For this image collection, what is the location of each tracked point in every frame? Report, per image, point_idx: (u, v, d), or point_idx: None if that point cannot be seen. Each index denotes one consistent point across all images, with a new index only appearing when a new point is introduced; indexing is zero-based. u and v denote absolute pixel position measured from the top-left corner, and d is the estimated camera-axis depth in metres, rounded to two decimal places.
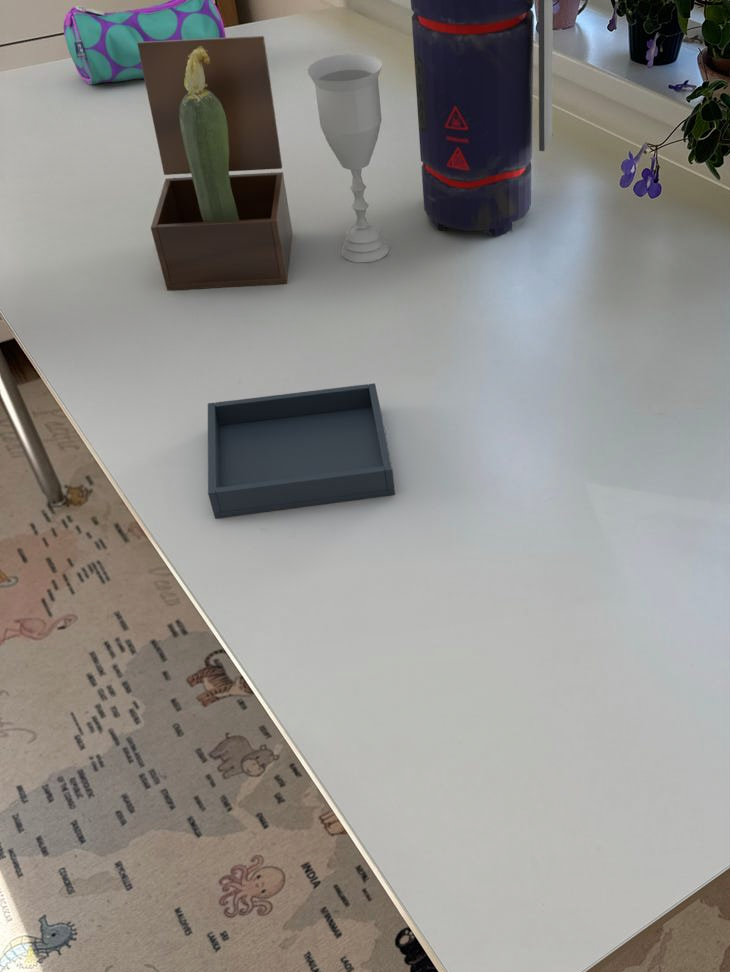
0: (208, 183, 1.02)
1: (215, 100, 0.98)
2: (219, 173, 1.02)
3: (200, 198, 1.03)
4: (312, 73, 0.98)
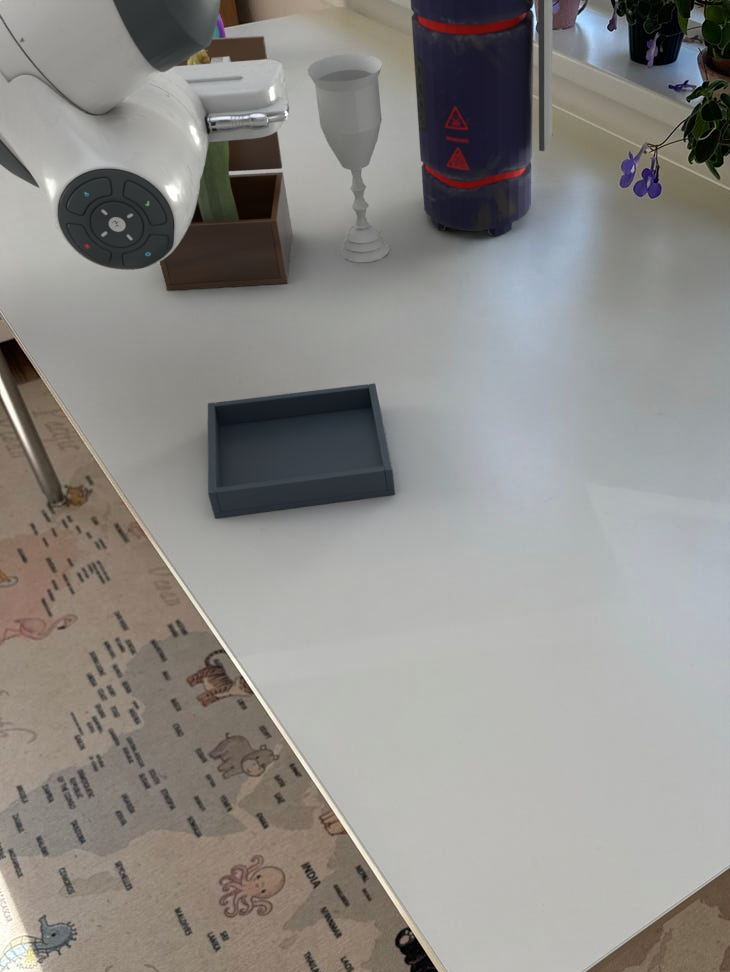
0: (208, 183, 1.02)
1: None
2: (219, 173, 1.02)
3: (200, 198, 1.03)
4: (312, 73, 0.98)
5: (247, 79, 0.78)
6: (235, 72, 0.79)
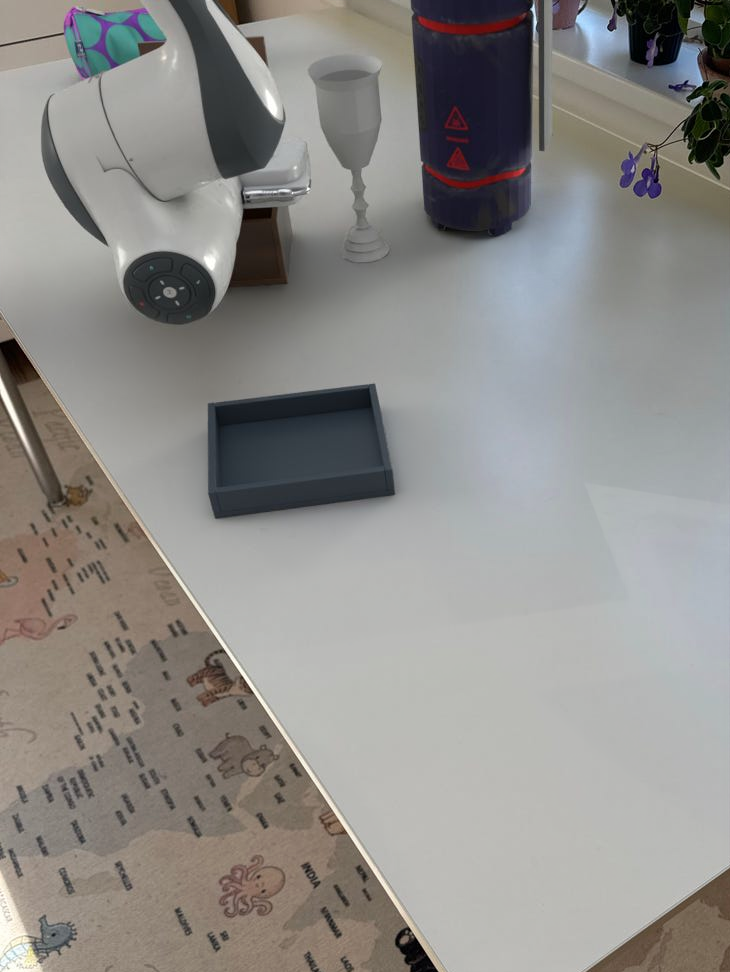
0: None
1: None
2: None
3: None
4: (312, 73, 0.98)
5: (277, 158, 0.94)
6: None
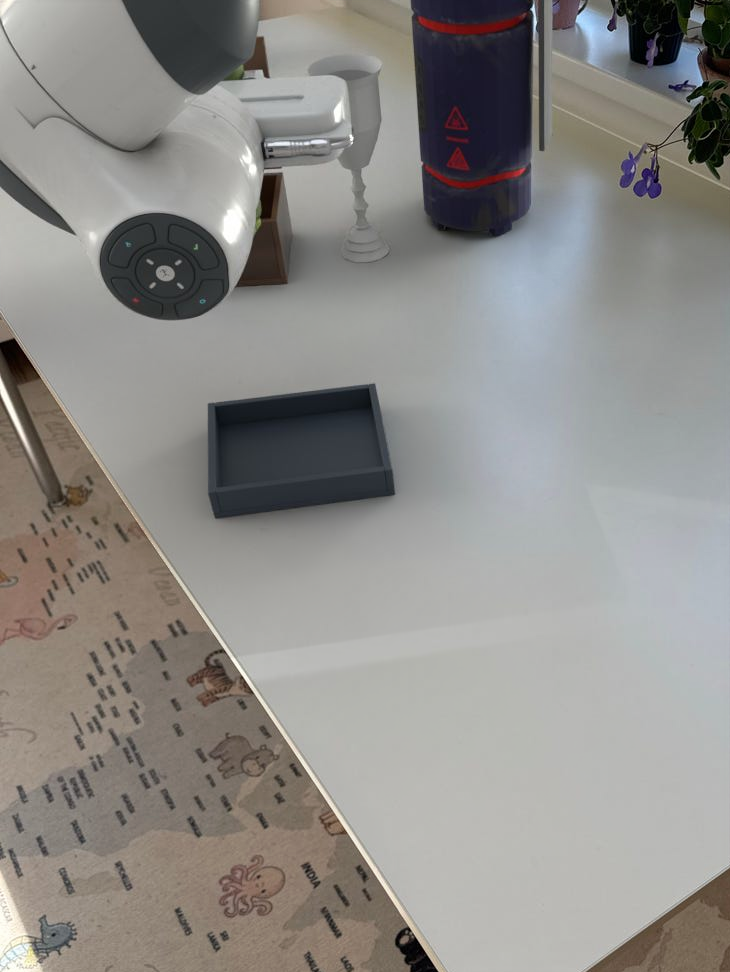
0: None
1: None
2: None
3: None
4: (312, 73, 0.98)
5: (308, 100, 0.71)
6: (295, 90, 0.72)
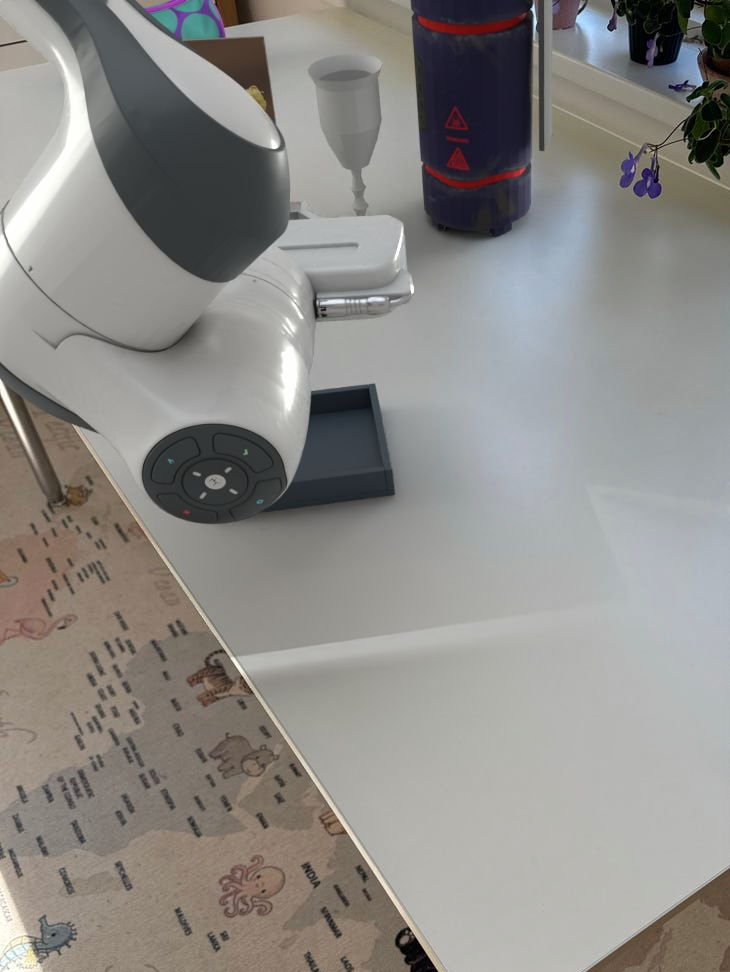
0: None
1: None
2: None
3: None
4: (312, 73, 0.98)
5: (364, 249, 0.64)
6: (348, 235, 0.65)
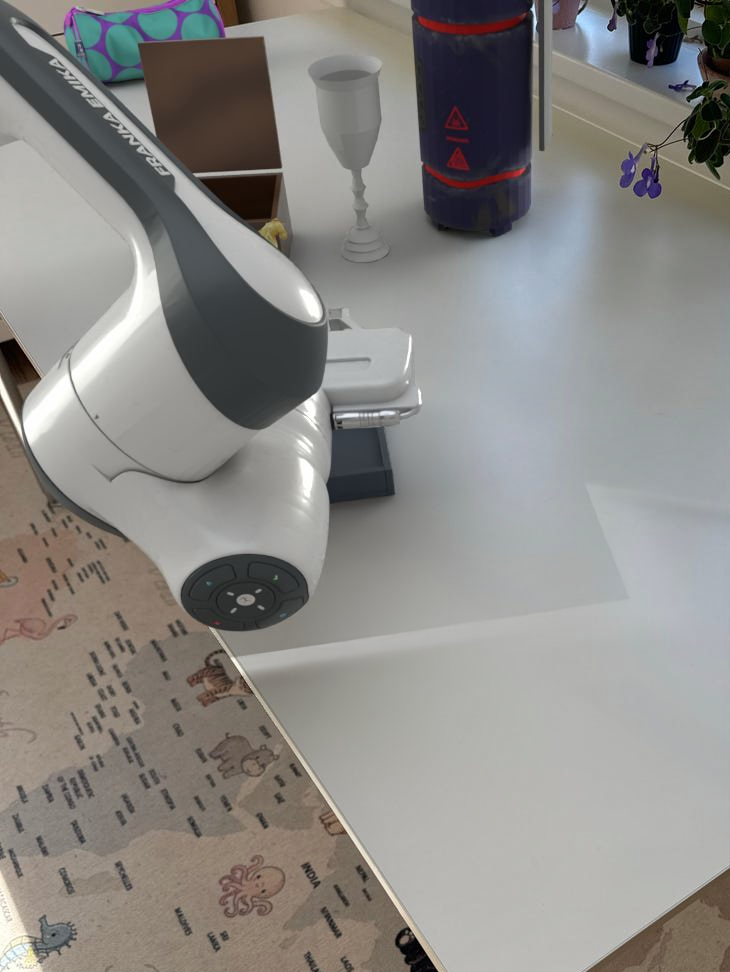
0: None
1: None
2: None
3: None
4: (312, 73, 0.98)
5: (376, 365, 0.70)
6: (361, 349, 0.71)
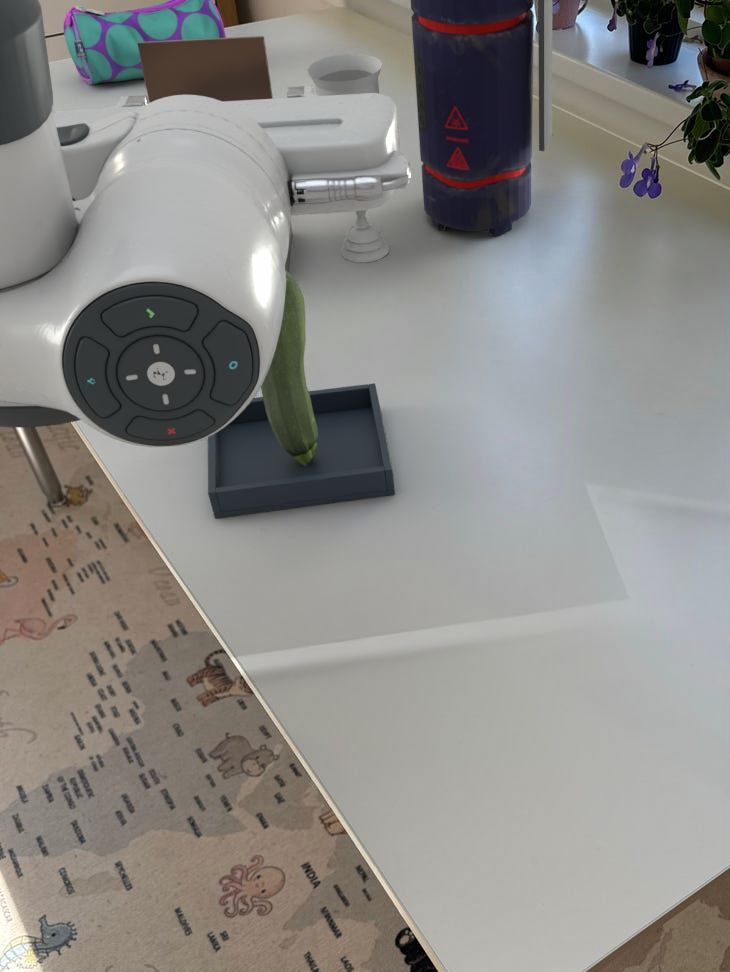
0: (278, 380, 0.78)
1: (292, 282, 0.74)
2: (293, 367, 0.78)
3: (267, 396, 0.80)
4: (312, 73, 0.98)
5: (350, 125, 0.52)
6: (330, 111, 0.54)
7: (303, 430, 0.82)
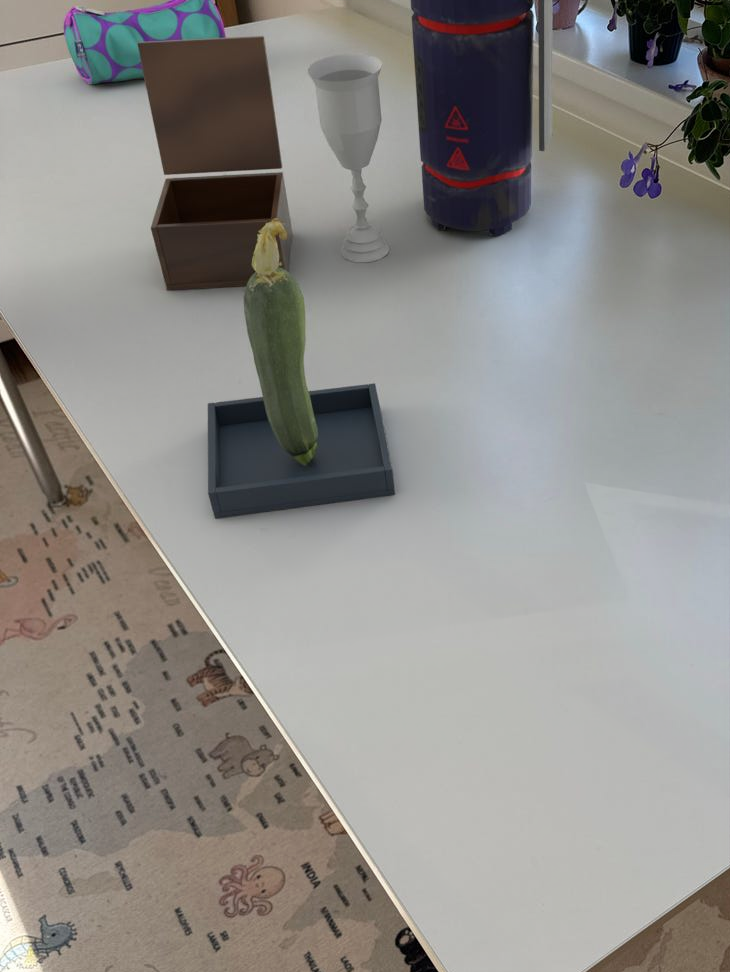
0: (278, 380, 0.78)
1: (292, 282, 0.74)
2: (293, 367, 0.78)
3: (267, 396, 0.80)
4: (312, 73, 0.98)
5: None
6: None
7: (303, 430, 0.82)
